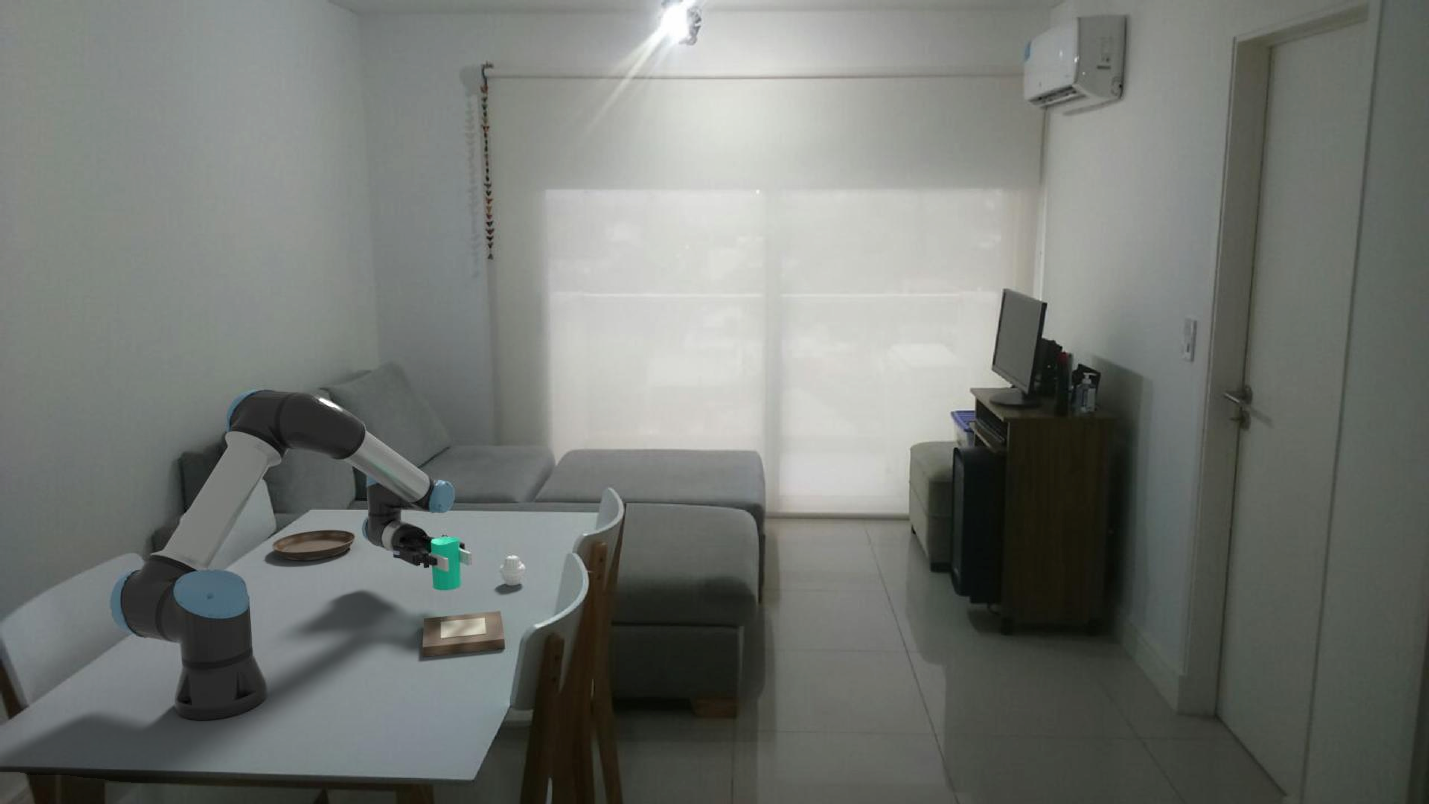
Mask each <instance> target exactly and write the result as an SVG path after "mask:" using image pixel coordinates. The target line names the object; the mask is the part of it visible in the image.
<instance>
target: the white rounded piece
mask: <svg viewBox="0 0 1429 804" xmlns="http://www.w3.org/2000/svg"><path fill="white" fill-rule="evenodd" d="M498 569H499V573H500V577H501V578H502V580H503V581H504V583H505V585H507V586H511V587H512V586H517V585H520V584H521V581H522V580H523V578H524V576H525V572H526V566H525V565H524V563H522V561H520V557H519V556H516V555H509V556H506V557H505V559H504V562H503V564H501V565H500V567H499V568H498Z"/></svg>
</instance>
